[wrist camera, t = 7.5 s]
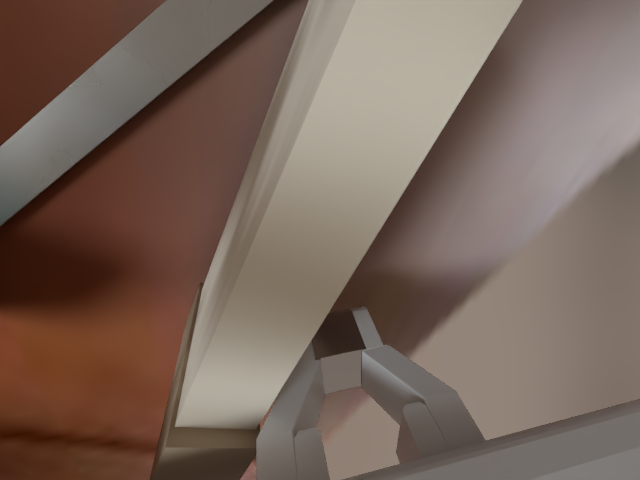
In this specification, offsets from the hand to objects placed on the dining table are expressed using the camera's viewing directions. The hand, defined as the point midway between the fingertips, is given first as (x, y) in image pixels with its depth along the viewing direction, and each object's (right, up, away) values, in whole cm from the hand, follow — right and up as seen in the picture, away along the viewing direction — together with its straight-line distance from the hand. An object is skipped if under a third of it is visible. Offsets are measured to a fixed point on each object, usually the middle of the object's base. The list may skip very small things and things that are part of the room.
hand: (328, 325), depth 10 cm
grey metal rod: (-5, +7, -3) cm, 9 cm away
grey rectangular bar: (-2, +5, -1) cm, 5 cm away
